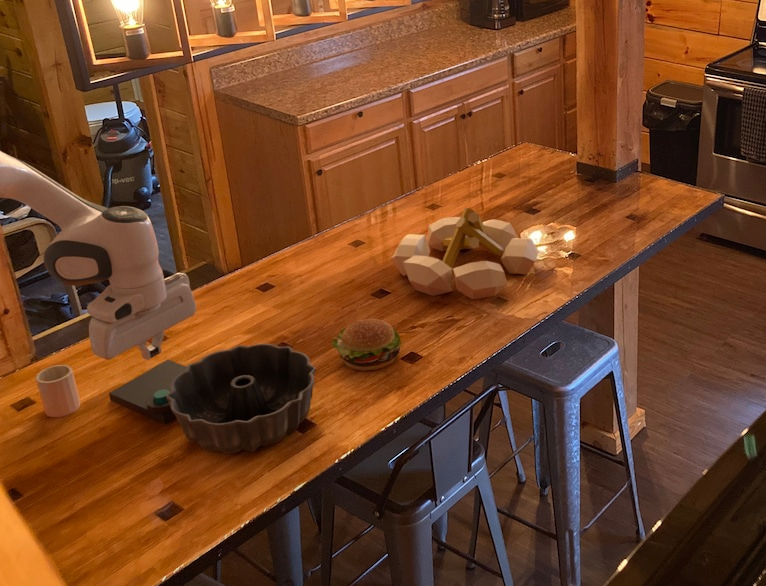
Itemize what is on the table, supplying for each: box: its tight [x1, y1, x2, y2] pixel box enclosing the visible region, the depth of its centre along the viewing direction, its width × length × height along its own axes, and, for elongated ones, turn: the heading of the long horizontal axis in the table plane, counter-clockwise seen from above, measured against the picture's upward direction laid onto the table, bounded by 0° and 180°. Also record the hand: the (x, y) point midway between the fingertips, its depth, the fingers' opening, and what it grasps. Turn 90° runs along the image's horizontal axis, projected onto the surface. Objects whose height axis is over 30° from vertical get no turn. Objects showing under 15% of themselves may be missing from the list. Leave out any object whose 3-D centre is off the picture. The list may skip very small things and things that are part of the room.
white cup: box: [35, 364, 82, 418], centre depth 185 cm, size 6×6×8 cm
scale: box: [108, 359, 187, 425], centre depth 190 cm, size 16×14×4 cm
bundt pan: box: [166, 343, 317, 454], centre depth 180 cm, size 26×26×10 cm
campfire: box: [390, 207, 539, 301], centre depth 238 cm, size 35×34×17 cm
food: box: [331, 318, 402, 372], centre depth 202 cm, size 14×14×8 cm
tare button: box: [154, 390, 169, 404], centre depth 183 cm, size 3×3×2 cm
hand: (152, 355), depth 180 cm, fingers closed
